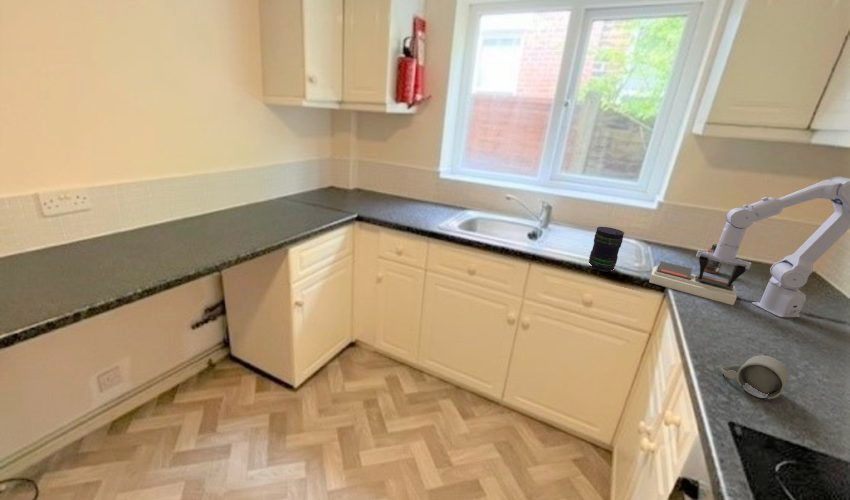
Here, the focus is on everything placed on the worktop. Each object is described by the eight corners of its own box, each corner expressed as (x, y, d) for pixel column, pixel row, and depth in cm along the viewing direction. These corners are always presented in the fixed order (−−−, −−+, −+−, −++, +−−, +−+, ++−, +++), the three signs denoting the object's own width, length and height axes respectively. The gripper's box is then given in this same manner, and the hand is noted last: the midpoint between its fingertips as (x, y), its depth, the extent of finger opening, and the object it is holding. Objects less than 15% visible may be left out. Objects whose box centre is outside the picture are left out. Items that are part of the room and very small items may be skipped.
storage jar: (582, 262, 153) (590, 226, 148) (601, 261, 157) (610, 226, 152) (600, 272, 145) (610, 234, 140) (620, 270, 148) (630, 234, 143)
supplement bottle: (721, 275, 154) (731, 248, 150) (705, 272, 155) (714, 246, 151) (713, 269, 160) (723, 244, 156) (698, 267, 160) (707, 242, 157)
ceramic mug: (782, 391, 84) (795, 361, 82) (775, 406, 79) (790, 375, 77) (724, 367, 92) (735, 339, 89) (715, 379, 86) (726, 350, 84)
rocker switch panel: (731, 293, 136) (735, 283, 135) (733, 305, 126) (737, 294, 125) (652, 273, 149) (655, 263, 147) (648, 282, 139) (652, 272, 138)
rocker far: (691, 271, 139) (692, 268, 139) (689, 281, 134) (690, 278, 134) (659, 263, 144) (660, 260, 144) (656, 273, 140) (657, 270, 139)
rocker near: (730, 285, 133) (731, 281, 133) (732, 288, 128) (733, 284, 127) (696, 276, 139) (697, 273, 138) (697, 279, 133) (698, 275, 132)
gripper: (755, 247, 125) (739, 285, 130) (702, 236, 133) (689, 272, 137) (757, 252, 120) (740, 291, 124) (702, 240, 127) (688, 277, 132)
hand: (713, 281), depth 130 cm, fingers open, 7 cm apart
